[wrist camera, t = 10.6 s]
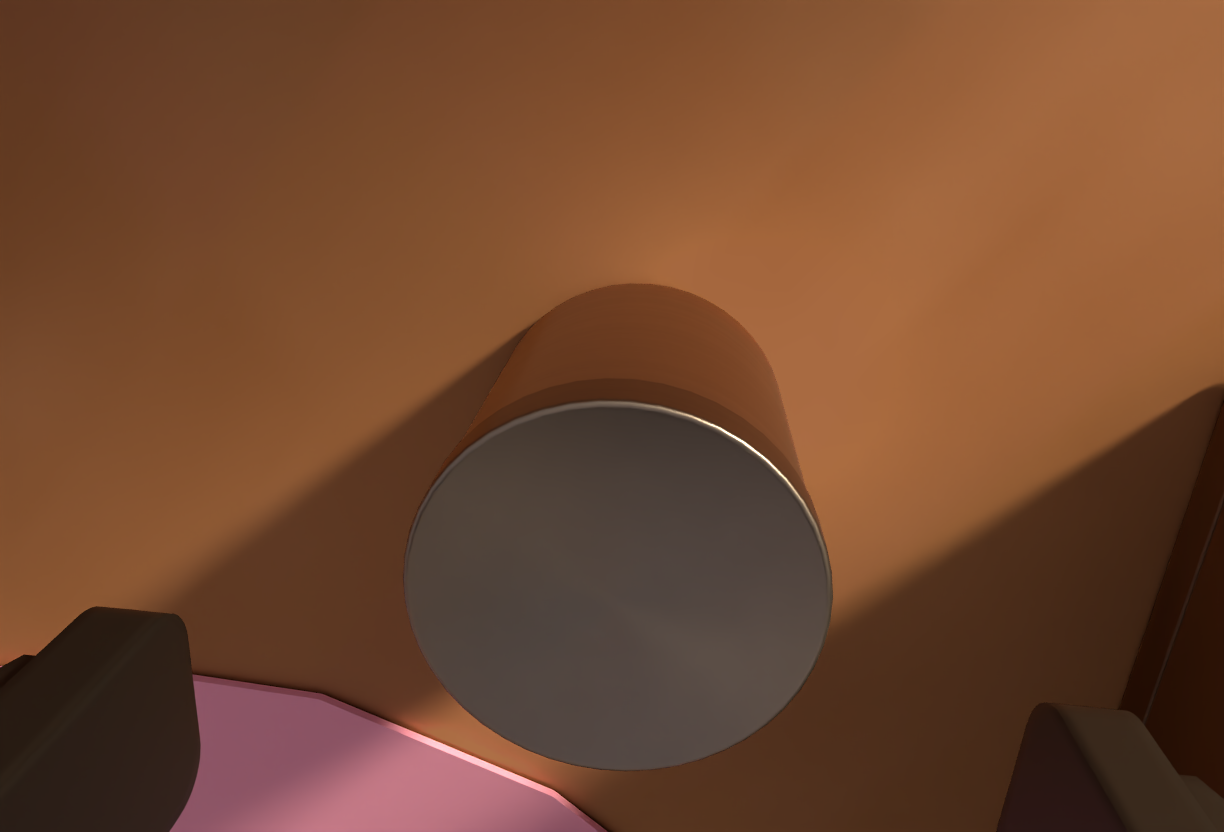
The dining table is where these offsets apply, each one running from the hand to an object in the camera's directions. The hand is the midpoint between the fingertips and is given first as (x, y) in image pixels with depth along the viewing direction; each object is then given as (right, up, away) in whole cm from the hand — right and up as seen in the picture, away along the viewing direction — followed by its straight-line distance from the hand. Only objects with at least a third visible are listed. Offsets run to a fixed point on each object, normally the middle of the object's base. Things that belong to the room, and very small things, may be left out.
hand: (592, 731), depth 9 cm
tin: (+1, +3, +7) cm, 7 cm away
